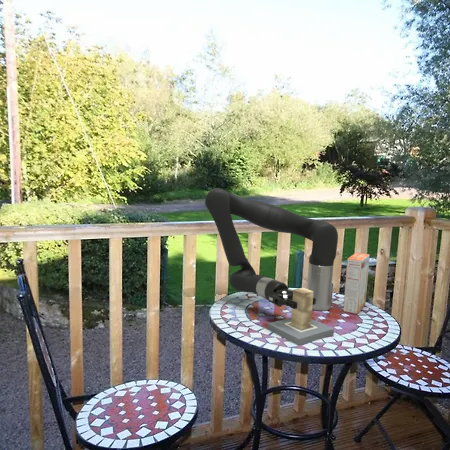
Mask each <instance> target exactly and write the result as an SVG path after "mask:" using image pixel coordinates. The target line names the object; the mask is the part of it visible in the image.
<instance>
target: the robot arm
mask: <svg viewBox="0 0 450 450" xmlns="http://www.w3.org/2000/svg"><path fill="white" fill-rule="evenodd" d="M204 204H205V207H206V209H207V210H208V212H209V214H210V216H211V218H212V219H213V221H214V223H215V226H216V229H217V231H218V234H219V238H220V241H221V244H222V247H223V252H224V255H225V257H226V260H227V263H228V265H229V266H231V267H237V266H239V267H240V269H238V270H236V271H234V272H233V273H231V275H230V276H229V285H230V286H231V287H232V288H233V289H234V290H236V291H238V292H242V293H253V294H255V295H258V296H259V297H261V298H262V299H265V300H267V301H268V302H269V303H271V304H273V305H275V306H277V307H283V306H284V307H288V308H290V309H292V308H293V309H297V302H295V301H293V290H294V289H289V287H288V286H287V284H286V283H285V282H282V281H279V280H278V279H277V280H276V279H274V278H271V277H266V276H264V275H261V274H257V273H256V271H255V269H254V268H253V266H252V264H251V263H250V261H249V260H248V258H247V256H246V254H245V250H244V247H243V245H242V242H241V239H240V237H239V234H238V232H237V230H236V226H235V225H234V222H233V217H232V215H233V216H237V217H239V218H240V219H243V220H245V221H247V222H249V223H250V224H253V225H256V226H258V227H259V228H263V229H267V230H270V231H272V232H278V233H286V234H290V235H291V234H293V235H296V236H300V237H302V238H305V239H307V240H309V241H311V242H312V243H311V244H312V245H311V253H310V254H309V258H308V271H307V279H306V280H307V281H306V283H307V284H306V289H308V290H311V291H314V292H313V304H312V311H313V310H314V311H321V312H322V311H324V312H325V311H328V310H330V309H331V308H332V305H333V304H332V303H333V291H334V283H333V275H334V263H335V259H336V257H337V250H338V243H339V234H338V233H339V232H338V229H337V228H336V226H334V225H333V224H331V223H329V222H328V221H325V220H324V221H323V220H319V219H313V218H308V217H304V216H301V215H299V214H296V213H294V212H292V211H290V210H287V209H285V208H282V207H280V206H276V205H273V204H270V203H267V202H262V201H258V200H254V199H250V198H244V197H242V196H239V195H237V194H235V193H232V192H229V191H227V190H225V189H223V188H220V187H218V188H217V187H216V188H212V189H210V190H209V191H208V192H207V194H206V196H205V197H204Z"/></svg>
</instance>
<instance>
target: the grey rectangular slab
mask: <svg viewBox="0 0 450 450" xmlns="http://www.w3.org/2000/svg"><path fill="white" fill-rule="evenodd" d="M267 330H269V331H270V332H272V333H274V334H275V335H278V336H279V337H281V338H284V339H285V340H287V341H289V342H292V343H293V344H295V345H297V346H301V345H305V344H308V343H311V342H315V341H317V340H320V339H325V338H327V337H330V336H334V335H335V334H334V333H335V329H334V328H333V327H330V326H328V325H326V324H324V323H322V322H319V321H317V320H314V319H312V318H311V327H309V328H306V329H302V330H300V329H298V328H296V327H294V326H292V325H291V317H288V318H284V319H280V320H276V321H271V322H268V323H267ZM324 337H325V338H324Z"/></svg>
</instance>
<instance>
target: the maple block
mask: <svg viewBox="0 0 450 450" xmlns="http://www.w3.org/2000/svg"><path fill="white" fill-rule="evenodd" d="M292 290H293V301H295V302H297V309H293V308H291V317H290V318H291V325H292V326H294V327H296V328H298V329H300V330H302V329H306V328H309V327H311V319H312V314H313V309H312V304H313V292H314V291H311V290H308V289H307V288H305V287H300V288H293V289H292Z"/></svg>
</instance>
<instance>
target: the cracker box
mask: <svg viewBox="0 0 450 450" xmlns="http://www.w3.org/2000/svg"><path fill="white" fill-rule="evenodd" d="M369 266H370V254H368V253H363V252H355V253H353V254H352V255H351V256H349V257H347V260H346V271H345V272H346V273H345V285H344V298H343V310H342V311H343V313H350V314H353V315H359V314H360V312H361V311H362V310H363V308H364V307H365V306H366V300H367V292H368V291H367V290H368V289H367V287H368V279H369V276H368V275H369V268H370V267H369Z"/></svg>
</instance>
